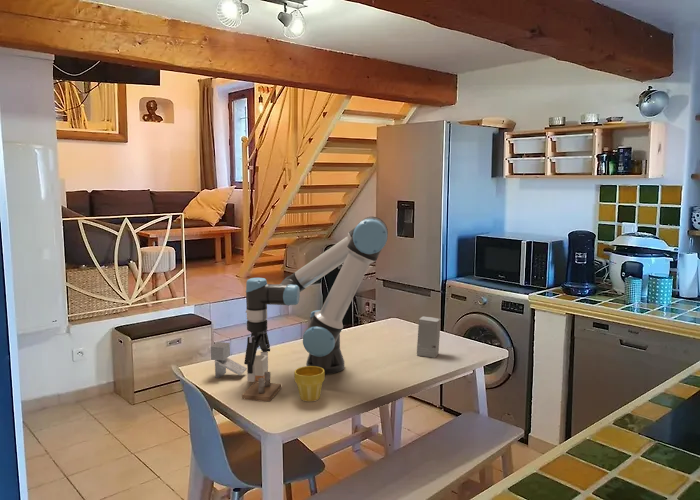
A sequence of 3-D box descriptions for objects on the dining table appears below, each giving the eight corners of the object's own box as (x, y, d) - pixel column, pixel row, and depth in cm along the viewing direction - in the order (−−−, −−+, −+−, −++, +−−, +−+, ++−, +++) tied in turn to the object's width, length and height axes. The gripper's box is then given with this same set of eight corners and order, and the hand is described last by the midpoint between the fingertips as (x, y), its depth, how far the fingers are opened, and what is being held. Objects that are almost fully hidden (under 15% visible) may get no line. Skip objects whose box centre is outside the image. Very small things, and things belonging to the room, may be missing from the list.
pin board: (281, 387, 200) (280, 370, 200) (269, 401, 189) (269, 382, 188) (254, 385, 202) (254, 368, 202) (242, 398, 191) (241, 380, 190)
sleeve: (268, 375, 212) (267, 355, 211) (262, 381, 207) (262, 360, 206) (254, 374, 213) (253, 354, 212) (248, 380, 208) (248, 359, 207)
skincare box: (416, 355, 235) (417, 319, 233) (420, 350, 241) (421, 315, 239) (436, 358, 232) (437, 321, 230) (440, 353, 238) (440, 317, 236)
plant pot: (294, 392, 196) (294, 365, 195) (324, 391, 197) (324, 365, 196) (294, 404, 186) (294, 376, 185) (325, 403, 187) (325, 375, 186)
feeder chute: (246, 374, 214) (246, 343, 212) (240, 379, 208) (239, 348, 207) (218, 371, 216) (217, 342, 215) (211, 377, 211) (210, 346, 209)
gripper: (259, 310, 220) (260, 362, 223) (233, 328, 195) (235, 386, 198) (277, 311, 218) (278, 364, 221) (254, 329, 194) (255, 387, 197)
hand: (258, 374), depth 210 cm, fingers open, 13 cm apart
